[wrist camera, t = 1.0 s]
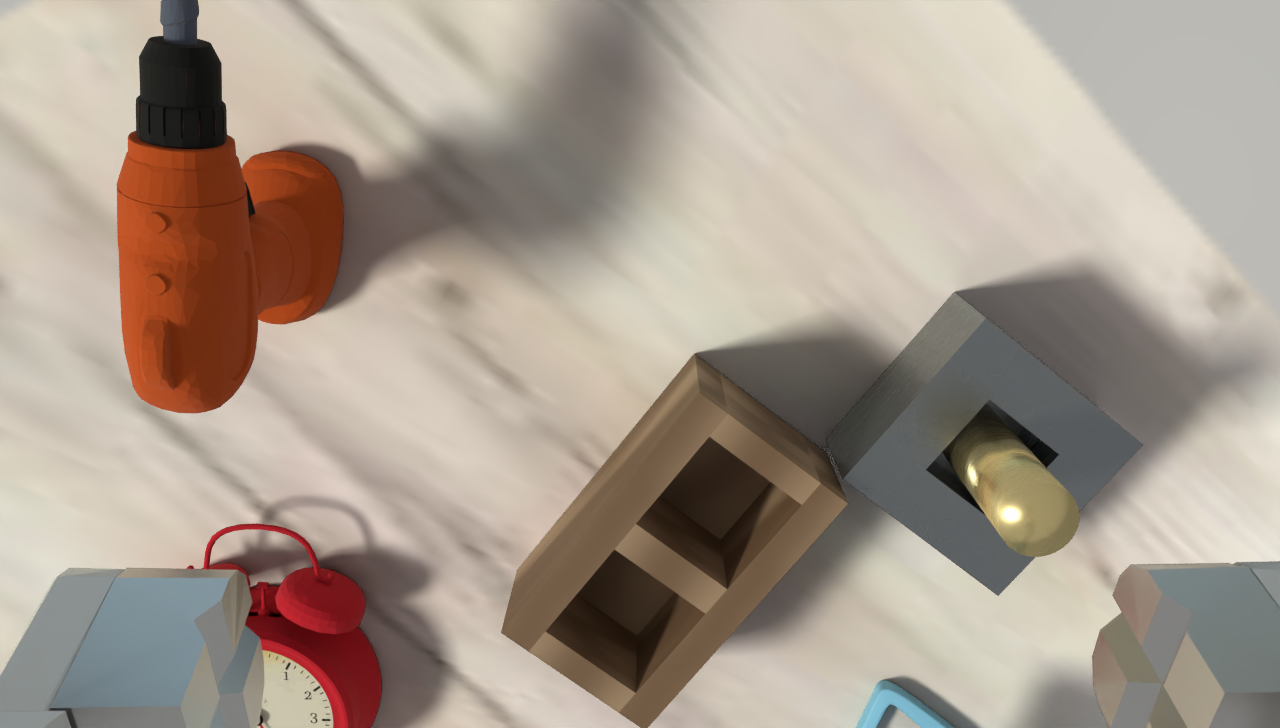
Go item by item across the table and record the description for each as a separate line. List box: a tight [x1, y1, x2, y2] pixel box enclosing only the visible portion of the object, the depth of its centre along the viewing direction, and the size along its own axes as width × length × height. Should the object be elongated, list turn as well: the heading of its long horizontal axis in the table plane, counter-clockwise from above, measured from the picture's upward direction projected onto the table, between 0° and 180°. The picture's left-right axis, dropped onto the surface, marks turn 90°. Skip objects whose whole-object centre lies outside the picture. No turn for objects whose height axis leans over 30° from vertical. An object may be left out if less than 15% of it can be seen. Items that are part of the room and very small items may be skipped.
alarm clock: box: [187, 524, 382, 728], centre depth 54 cm, size 10×6×15 cm
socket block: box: [826, 292, 1143, 596], centre depth 50 cm, size 9×9×5 cm
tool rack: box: [501, 354, 848, 728], centre depth 51 cm, size 8×14×6 cm, turn 142°
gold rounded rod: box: [942, 404, 1079, 557], centre depth 47 cm, size 3×3×10 cm
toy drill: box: [117, 0, 344, 413], centre depth 42 cm, size 5×19×15 cm, turn 171°
